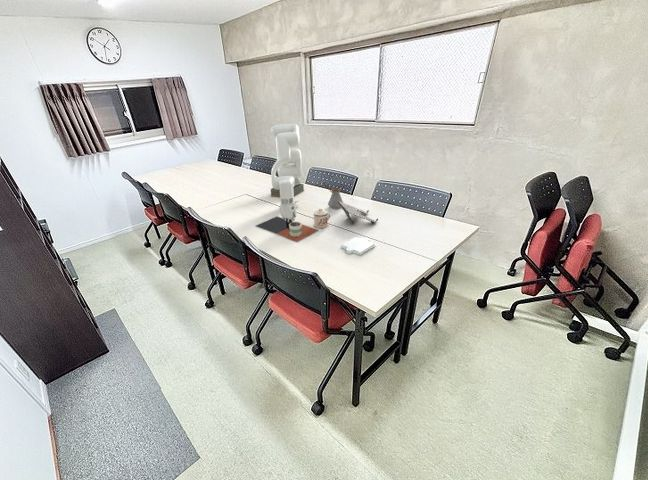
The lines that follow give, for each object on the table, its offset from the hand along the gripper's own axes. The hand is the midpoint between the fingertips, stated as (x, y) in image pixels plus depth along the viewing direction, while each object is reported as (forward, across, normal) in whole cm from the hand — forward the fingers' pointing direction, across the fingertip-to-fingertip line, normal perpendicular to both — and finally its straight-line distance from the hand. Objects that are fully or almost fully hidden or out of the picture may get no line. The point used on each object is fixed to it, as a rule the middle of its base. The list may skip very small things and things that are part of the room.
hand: (289, 227), depth 184 cm
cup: (+1, -9, +3) cm, 9 cm away
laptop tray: (+1, -28, -38) cm, 47 cm away
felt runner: (+1, +3, 0) cm, 3 cm away
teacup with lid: (+1, -14, -18) cm, 22 cm away
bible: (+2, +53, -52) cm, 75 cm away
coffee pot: (+1, +3, -50) cm, 50 cm away
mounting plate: (+1, -48, -6) cm, 49 cm away
